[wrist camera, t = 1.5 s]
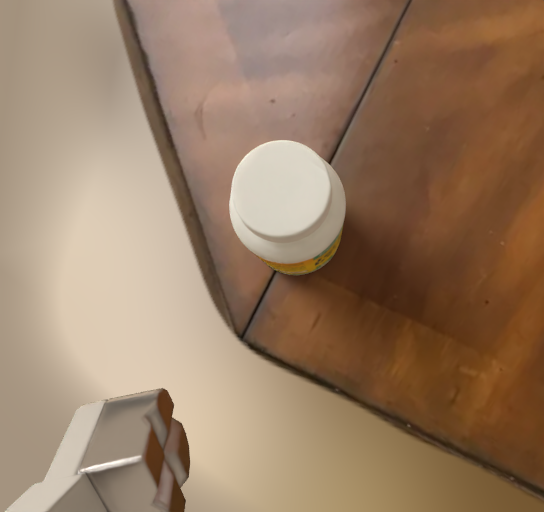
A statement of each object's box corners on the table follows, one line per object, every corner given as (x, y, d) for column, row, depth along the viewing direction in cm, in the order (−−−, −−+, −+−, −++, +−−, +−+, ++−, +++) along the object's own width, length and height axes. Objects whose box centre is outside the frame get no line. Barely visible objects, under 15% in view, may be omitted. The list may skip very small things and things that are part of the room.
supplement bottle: (267, 178, 28) (238, 107, 19) (352, 201, 27) (366, 139, 18) (240, 262, 28) (196, 232, 18) (326, 288, 27) (326, 271, 17)
